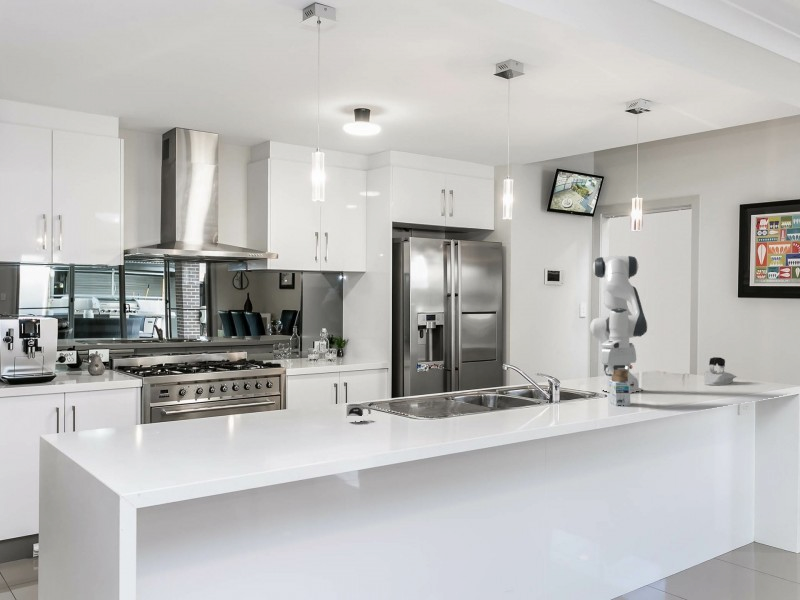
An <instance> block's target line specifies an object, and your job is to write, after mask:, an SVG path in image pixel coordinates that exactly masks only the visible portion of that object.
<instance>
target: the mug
mask: <svg viewBox="0 0 800 600" xmlns="http://www.w3.org/2000/svg"><path fill="white" fill-rule="evenodd" d="M345 408H346V417H347V416H362V415H363V416H364V410H368V412H367V413H368V414H371V415H372V409H371V407H370V406H364V405H363V403H349V404H346V407H345ZM368 414H367V415H368Z"/></svg>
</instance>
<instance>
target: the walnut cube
mask: <svg viewBox="0 0 800 600" xmlns="http://www.w3.org/2000/svg"><path fill="white" fill-rule="evenodd" d="M612 381H616V382H625V381H628V370H615V374H613V375H612Z"/></svg>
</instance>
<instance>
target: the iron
mask: <svg viewBox="0 0 800 600" xmlns="http://www.w3.org/2000/svg"><path fill="white" fill-rule="evenodd" d="M708 365H709V366H708V367H709V370H707V371H705V372H704V380H703V381H704V385H705V386H706V385H707V386H724V385H725V386H726V385H728V384H731V383H732V382H734V379H736V378H737V377H738V376H737V375H734V374H732V373H729V372H727V371H725V366H726V359H724V358H722V357H718V356H716V357H715V356H713V357H711V358H709V364H708ZM715 366H718V367H719V368H718V369H719V370H718V371H717V370H715Z"/></svg>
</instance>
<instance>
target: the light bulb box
mask: <svg viewBox="0 0 800 600" xmlns="http://www.w3.org/2000/svg"><path fill="white" fill-rule="evenodd" d="M609 403H610V404H612V405H613V404H614V405H613V406H615V405H616V406H615V407H619V406H618V405H621V406H620V407H631V393H630V383H629V382H626V381H625V382H616V381H612V380H610V392H609ZM623 405H624V406H623Z"/></svg>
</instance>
